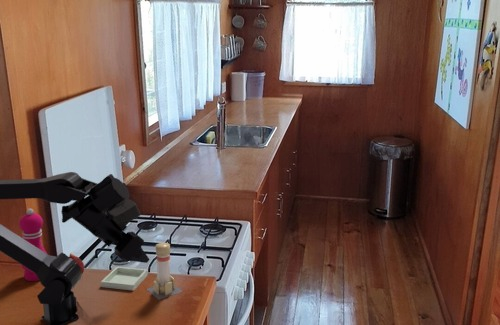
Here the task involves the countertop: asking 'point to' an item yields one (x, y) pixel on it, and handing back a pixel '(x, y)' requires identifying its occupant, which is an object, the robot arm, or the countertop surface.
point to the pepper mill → (31, 236)
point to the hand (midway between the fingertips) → (139, 254)
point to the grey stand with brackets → (169, 289)
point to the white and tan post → (163, 265)
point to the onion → (78, 261)
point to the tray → (124, 278)
